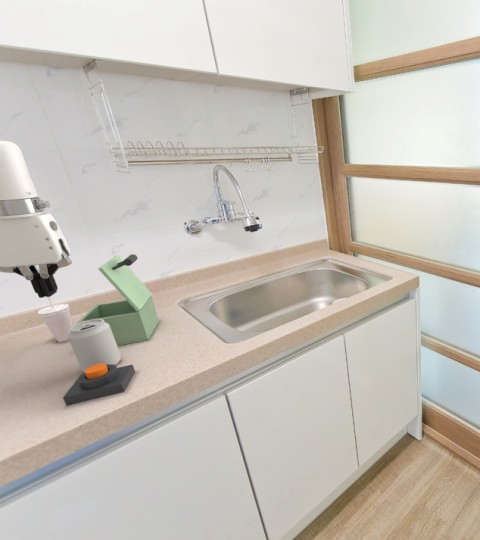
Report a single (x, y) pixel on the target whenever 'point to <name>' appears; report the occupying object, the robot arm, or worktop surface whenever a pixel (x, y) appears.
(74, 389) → the control block
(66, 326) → the smoothie
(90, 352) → the can
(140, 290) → the lid
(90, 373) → the button
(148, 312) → the green hinged box
